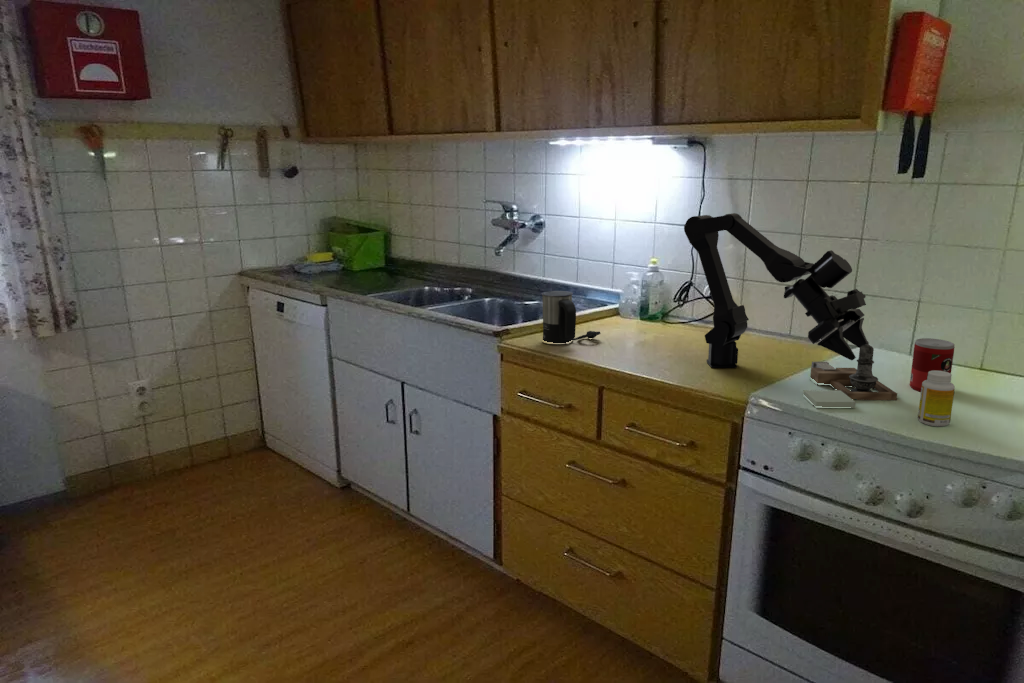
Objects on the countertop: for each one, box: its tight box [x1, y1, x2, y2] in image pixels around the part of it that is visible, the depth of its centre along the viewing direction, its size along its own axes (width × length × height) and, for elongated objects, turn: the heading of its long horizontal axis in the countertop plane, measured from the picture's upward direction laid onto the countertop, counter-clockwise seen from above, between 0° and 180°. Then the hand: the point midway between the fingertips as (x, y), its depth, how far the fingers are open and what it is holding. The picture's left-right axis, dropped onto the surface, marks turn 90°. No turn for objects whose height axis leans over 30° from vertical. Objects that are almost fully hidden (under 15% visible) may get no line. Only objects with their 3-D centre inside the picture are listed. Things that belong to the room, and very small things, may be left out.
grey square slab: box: [802, 389, 856, 409], centre depth 153 cm, size 8×8×2 cm
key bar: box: [810, 361, 836, 371], centre depth 171 cm, size 4×7×3 cm, turn 177°
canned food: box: [909, 337, 955, 393], centre depth 160 cm, size 8×8×11 cm
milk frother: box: [541, 290, 602, 343], centre depth 209 cm, size 14×16×15 cm
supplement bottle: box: [917, 370, 956, 427], centre depth 139 cm, size 6×6×10 cm
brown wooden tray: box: [809, 367, 898, 401], centre depth 161 cm, size 13×15×3 cm
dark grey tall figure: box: [849, 340, 879, 392], centre depth 158 cm, size 6×6×12 cm
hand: (861, 355), depth 158 cm, fingers open, 9 cm apart
